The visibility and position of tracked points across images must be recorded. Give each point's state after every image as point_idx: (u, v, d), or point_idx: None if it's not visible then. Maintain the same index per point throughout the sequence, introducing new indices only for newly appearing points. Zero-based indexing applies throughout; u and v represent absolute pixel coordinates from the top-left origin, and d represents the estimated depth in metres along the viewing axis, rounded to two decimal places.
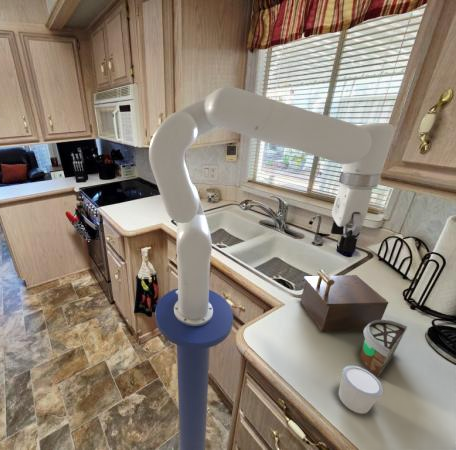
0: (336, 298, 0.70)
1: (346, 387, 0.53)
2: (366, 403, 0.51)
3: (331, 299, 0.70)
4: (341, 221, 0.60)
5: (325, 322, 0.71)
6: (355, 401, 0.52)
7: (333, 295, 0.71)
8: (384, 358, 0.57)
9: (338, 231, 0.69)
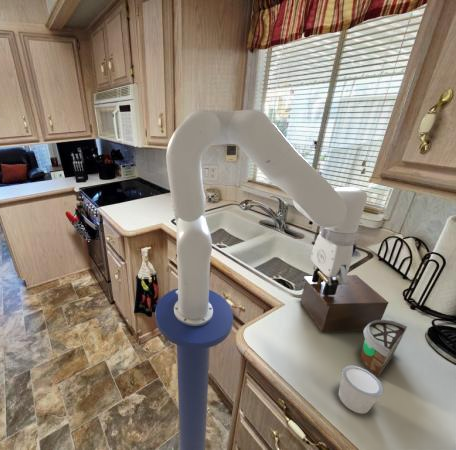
0: (336, 298, 0.70)
1: (346, 387, 0.53)
2: (366, 403, 0.51)
3: (331, 299, 0.70)
4: (331, 273, 0.66)
5: (325, 322, 0.71)
6: (355, 401, 0.52)
7: (333, 295, 0.71)
8: (384, 358, 0.57)
9: None
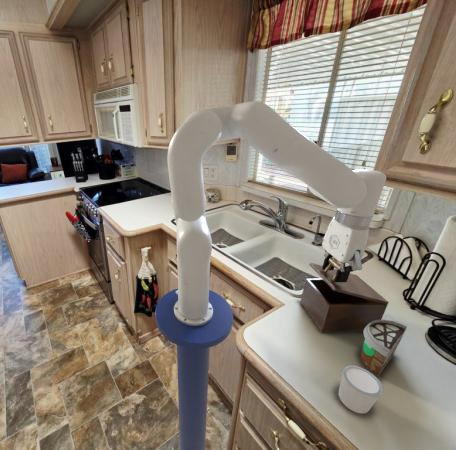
0: (343, 286, 0.69)
1: (346, 387, 0.53)
2: (366, 403, 0.51)
3: (338, 286, 0.68)
4: (345, 258, 0.64)
5: (325, 322, 0.71)
6: (355, 401, 0.52)
7: (339, 283, 0.70)
8: (384, 358, 0.57)
9: None
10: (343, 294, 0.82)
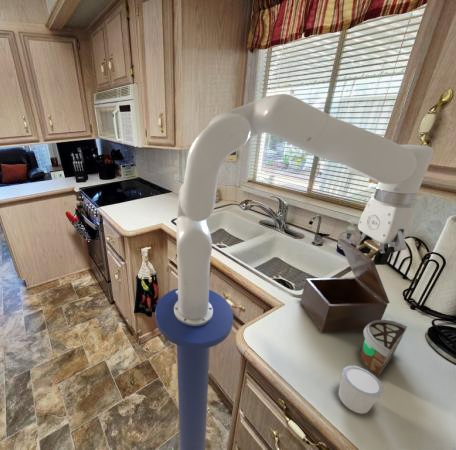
0: None
1: (346, 387, 0.53)
2: (366, 403, 0.51)
3: None
4: (387, 238, 0.61)
5: (325, 322, 0.71)
6: (355, 401, 0.52)
7: None
8: (384, 358, 0.57)
9: (365, 250, 0.71)
10: (343, 294, 0.82)
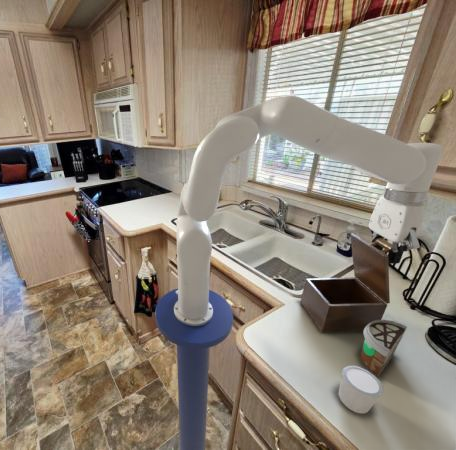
0: None
1: (346, 387, 0.53)
2: (366, 403, 0.51)
3: None
4: (399, 237, 0.61)
5: (325, 322, 0.71)
6: (355, 401, 0.52)
7: None
8: (384, 358, 0.57)
9: None
10: (343, 294, 0.82)
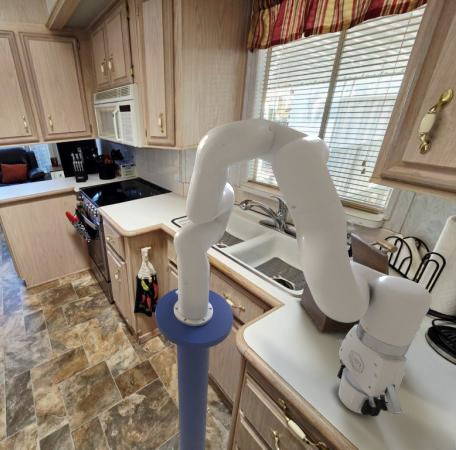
0: None
1: (346, 387, 0.53)
2: None
3: None
4: (373, 393, 0.47)
5: (325, 322, 0.71)
6: (355, 401, 0.52)
7: None
8: None
9: None
10: None
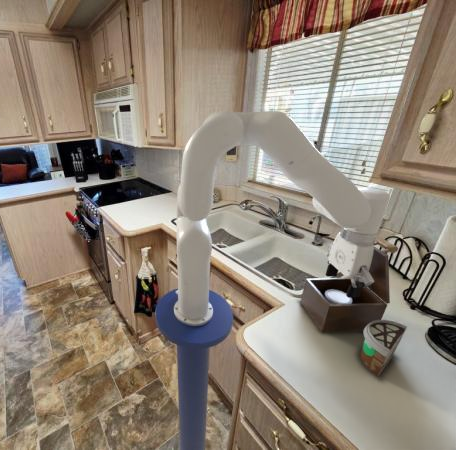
0: None
1: None
2: None
3: None
4: (351, 274, 0.66)
5: (325, 322, 0.71)
6: None
7: None
8: (384, 358, 0.57)
9: (332, 274, 0.77)
10: None
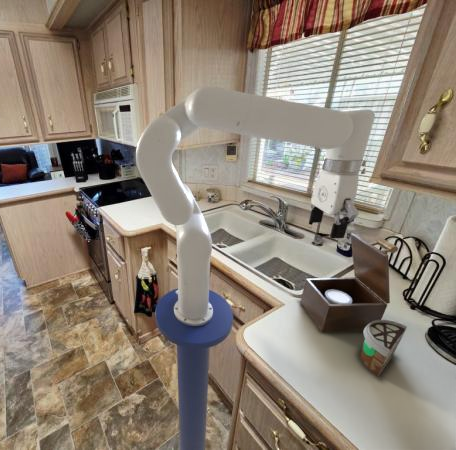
0: None
1: None
2: None
3: None
4: (334, 209, 0.59)
5: (325, 322, 0.71)
6: None
7: None
8: (384, 358, 0.57)
9: (316, 219, 0.71)
10: None
